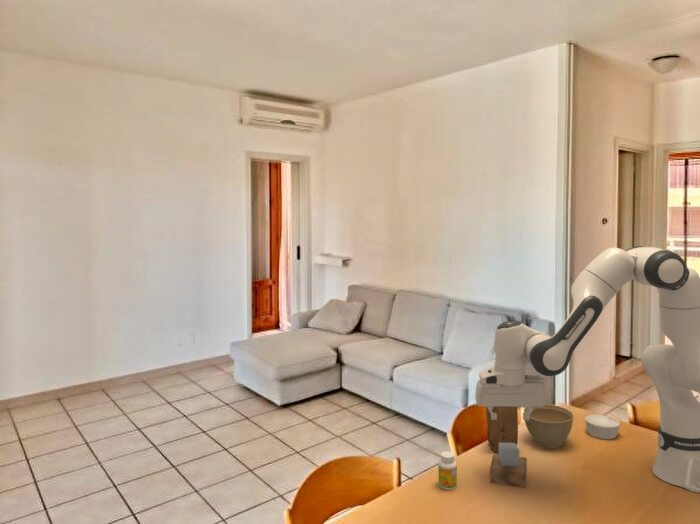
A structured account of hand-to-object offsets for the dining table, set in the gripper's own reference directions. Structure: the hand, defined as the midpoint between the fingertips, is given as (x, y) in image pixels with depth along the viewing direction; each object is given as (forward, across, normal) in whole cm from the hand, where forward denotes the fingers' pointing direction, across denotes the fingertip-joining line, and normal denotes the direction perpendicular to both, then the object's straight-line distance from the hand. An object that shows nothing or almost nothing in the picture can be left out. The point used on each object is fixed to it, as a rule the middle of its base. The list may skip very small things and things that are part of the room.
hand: (509, 419), depth 155 cm
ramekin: (+19, -39, -33) cm, 54 cm away
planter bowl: (+19, -18, -25) cm, 36 cm away
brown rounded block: (+18, -1, -19) cm, 26 cm away
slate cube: (+14, 0, 0) cm, 14 cm away
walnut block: (+19, 0, 0) cm, 19 cm away
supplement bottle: (+18, +19, +6) cm, 27 cm away
